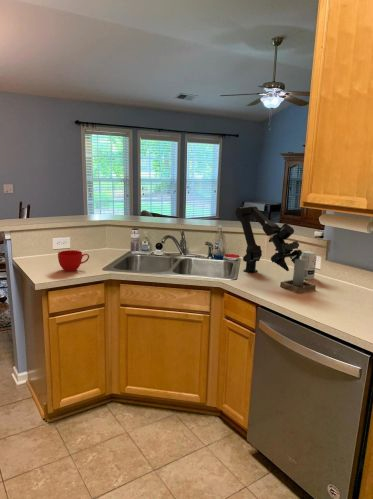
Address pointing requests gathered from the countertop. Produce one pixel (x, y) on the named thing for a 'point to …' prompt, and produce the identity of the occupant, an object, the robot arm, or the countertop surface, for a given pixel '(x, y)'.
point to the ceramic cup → (71, 260)
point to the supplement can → (309, 264)
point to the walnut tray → (305, 288)
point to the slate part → (299, 273)
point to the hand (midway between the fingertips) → (294, 269)
